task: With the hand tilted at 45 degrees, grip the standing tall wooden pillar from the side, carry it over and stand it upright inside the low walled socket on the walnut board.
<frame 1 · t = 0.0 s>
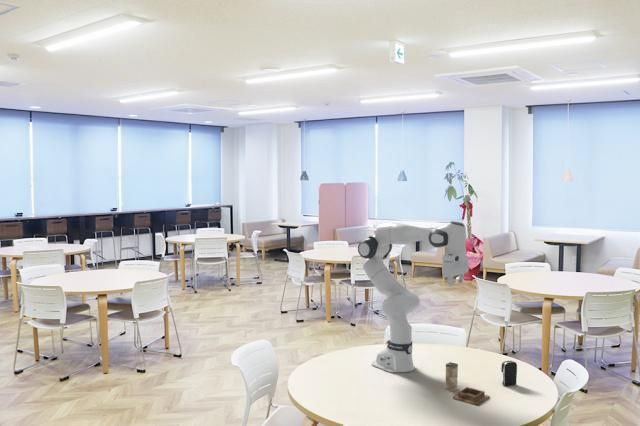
hand: (455, 284, 276), 48 cm above the table, tool pointing down, fingers open, 8 cm apart
tall wooden pillar: (451, 389, 270), on the table
battery charger: (508, 385, 276), on the table
dock: (471, 398, 259), on the table
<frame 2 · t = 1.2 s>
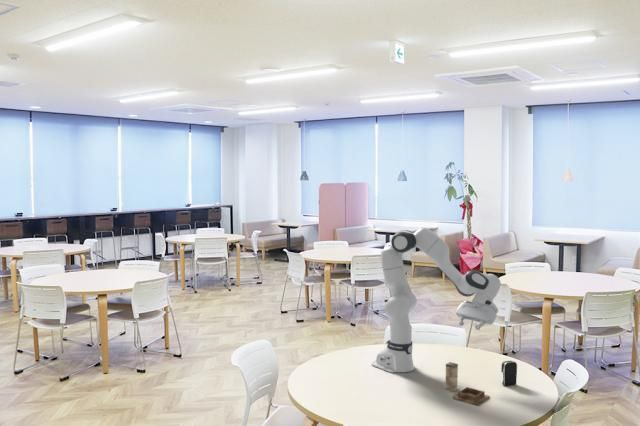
hand: (468, 326, 276), 28 cm above the table, tool tilted 45°, fingers open, 8 cm apart
nothing on the table moved.
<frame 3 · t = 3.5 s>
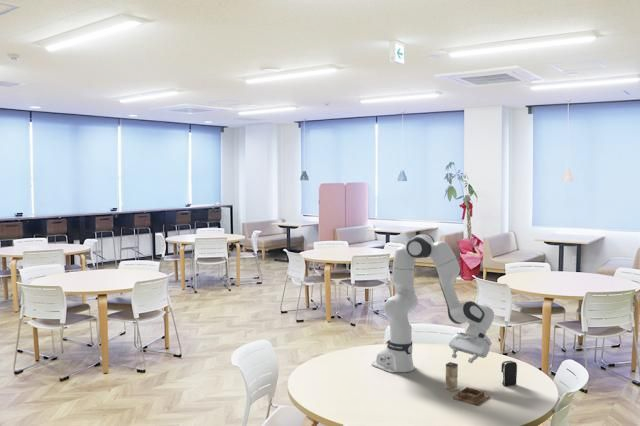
hand: (461, 359, 274), 12 cm above the table, tool tilted 45°, fingers open, 8 cm apart
nothing on the table moved.
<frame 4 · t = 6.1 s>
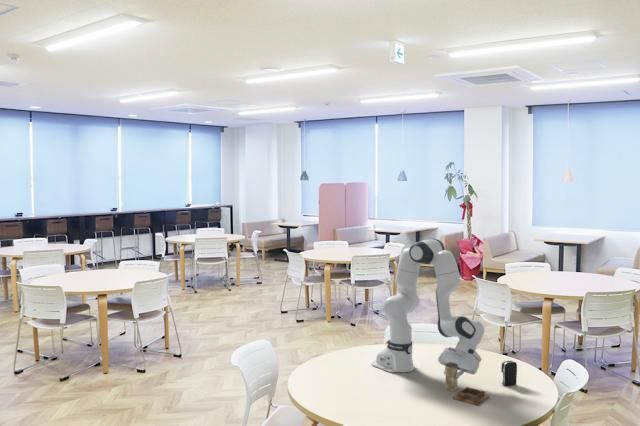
hand: (450, 376, 269), 6 cm above the table, tool tilted 45°, fingers closed on tall wooden pillar, 4 cm apart
tall wooden pillar: (451, 389, 270), on the table, touching gripper
everything else where it was.
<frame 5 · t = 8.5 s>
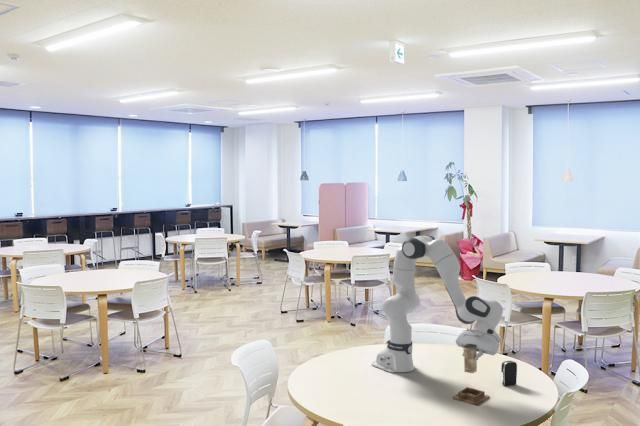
hand: (469, 357, 259), 18 cm above the table, tool tilted 45°, fingers closed on tall wooden pillar, 4 cm apart
tall wooden pillar: (470, 371, 260), point 12 cm above the table, touching gripper
everything else where it was.
when the fingers open (8 cm above the table, at t = 11.2 s): tall wooden pillar drops 1 cm, resting on dock.
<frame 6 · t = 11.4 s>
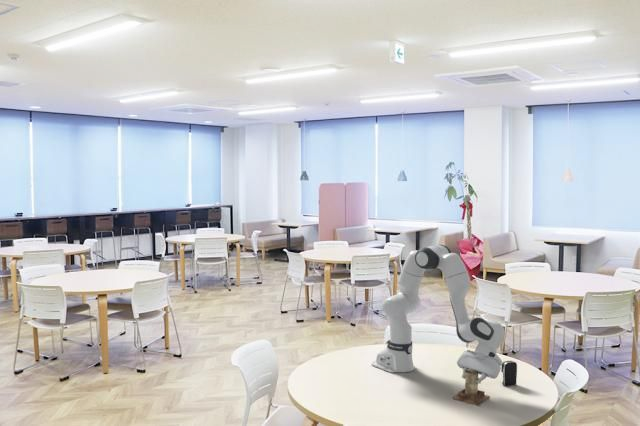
hand: (470, 380, 258), 8 cm above the table, tool tilted 45°, fingers open, 6 cm apart
tall wooden pillar: (471, 396, 259), point 1 cm above the table, touching dock
everything else where it was.
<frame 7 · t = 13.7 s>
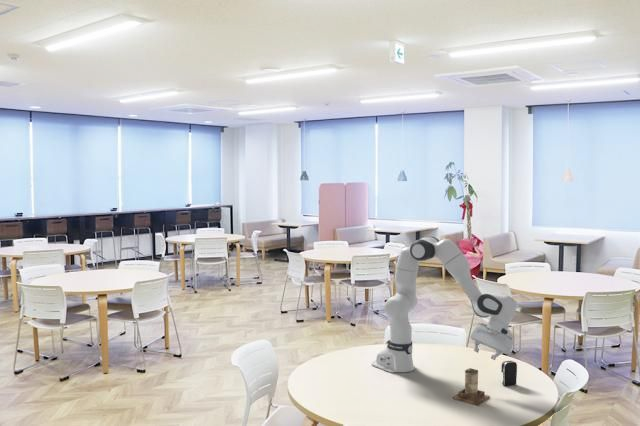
hand: (484, 355, 267), 17 cm above the table, tool tilted 30°, fingers open, 8 cm apart
nothing on the table moved.
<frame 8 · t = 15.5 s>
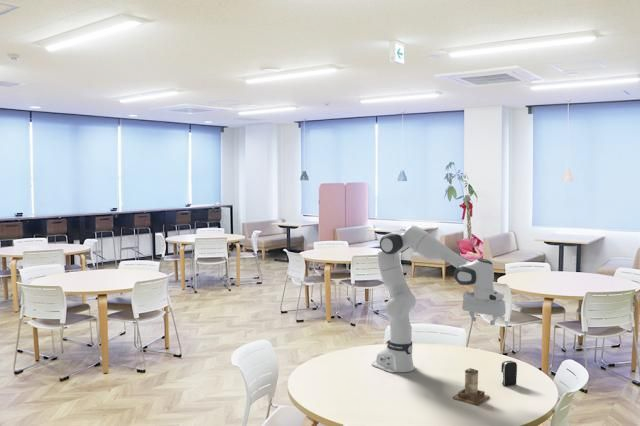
hand: (483, 322, 270), 31 cm above the table, tool pointing down, fingers open, 8 cm apart
nothing on the table moved.
at the end: tall wooden pillar inside the target area on the dock (0.1 cm from its centre), point 0.8 cm above the dock's base; tall wooden pillar tilted 0°; the gripper is holding nothing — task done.
